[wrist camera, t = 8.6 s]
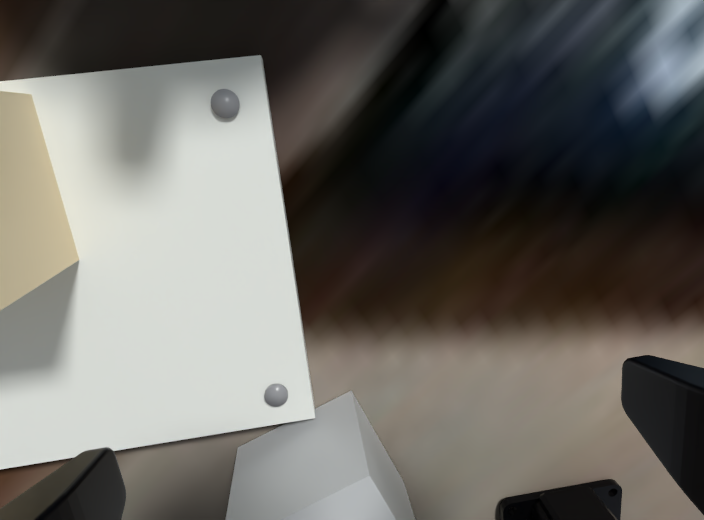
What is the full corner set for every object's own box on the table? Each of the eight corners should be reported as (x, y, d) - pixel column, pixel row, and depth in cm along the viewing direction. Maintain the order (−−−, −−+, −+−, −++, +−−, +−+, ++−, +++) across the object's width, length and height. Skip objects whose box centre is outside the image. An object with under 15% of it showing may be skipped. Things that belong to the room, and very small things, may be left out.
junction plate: (314, 402, 23) (320, 486, 17) (-95, 468, 21) (-221, 580, 16) (262, 59, 18) (250, 34, 13) (-255, 112, 17) (-496, 108, 12)
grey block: (403, 481, 24) (442, 609, 18) (298, 534, 25) (299, 679, 18) (351, 390, 23) (374, 496, 16) (237, 447, 23) (216, 574, 16)
